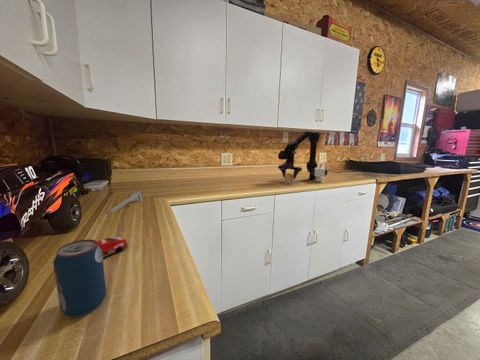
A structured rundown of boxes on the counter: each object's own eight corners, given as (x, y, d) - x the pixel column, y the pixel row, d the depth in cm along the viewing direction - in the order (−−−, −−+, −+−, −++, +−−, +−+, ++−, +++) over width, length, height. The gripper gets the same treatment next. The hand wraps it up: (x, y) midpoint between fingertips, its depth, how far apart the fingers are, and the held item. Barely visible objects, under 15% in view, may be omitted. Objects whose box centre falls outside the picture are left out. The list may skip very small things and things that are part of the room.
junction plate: (286, 179, 177) (286, 174, 176) (300, 181, 168) (300, 176, 167) (277, 181, 168) (277, 175, 167) (291, 183, 159) (291, 178, 158)
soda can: (114, 292, 43) (109, 238, 40) (91, 321, 36) (83, 257, 34) (80, 291, 43) (73, 237, 40) (50, 320, 36) (39, 257, 33)
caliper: (139, 200, 106) (138, 188, 105) (141, 200, 106) (140, 188, 105) (107, 214, 86) (106, 199, 85) (109, 214, 86) (108, 199, 85)
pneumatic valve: (326, 182, 169) (328, 167, 166) (311, 181, 171) (312, 167, 169) (325, 181, 174) (326, 166, 171) (310, 180, 176) (311, 166, 174)
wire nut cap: (287, 179, 172) (288, 172, 170) (293, 180, 168) (293, 173, 167) (284, 180, 168) (284, 173, 167) (289, 181, 165) (290, 174, 164)
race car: (74, 273, 49) (72, 257, 48) (66, 264, 52) (64, 250, 51) (130, 249, 59) (129, 236, 59) (121, 244, 63) (120, 231, 62)
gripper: (274, 158, 166) (273, 177, 169) (295, 160, 153) (293, 181, 156) (282, 158, 174) (281, 176, 176) (303, 160, 161) (301, 179, 163)
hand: (288, 178), depth 168 cm, fingers open, 9 cm apart
